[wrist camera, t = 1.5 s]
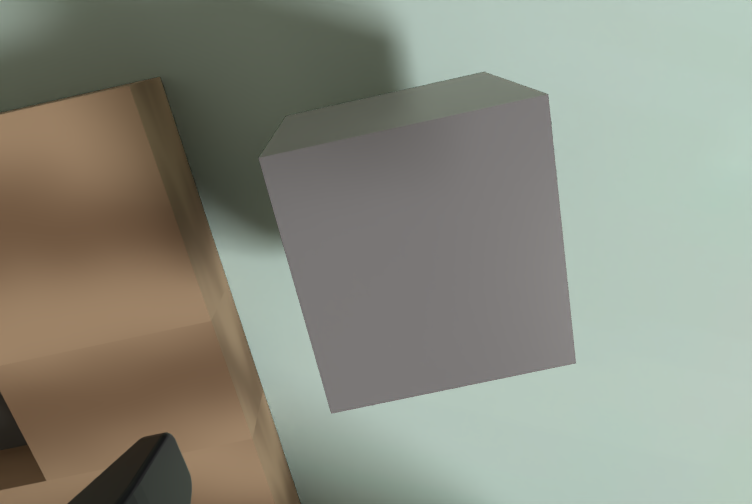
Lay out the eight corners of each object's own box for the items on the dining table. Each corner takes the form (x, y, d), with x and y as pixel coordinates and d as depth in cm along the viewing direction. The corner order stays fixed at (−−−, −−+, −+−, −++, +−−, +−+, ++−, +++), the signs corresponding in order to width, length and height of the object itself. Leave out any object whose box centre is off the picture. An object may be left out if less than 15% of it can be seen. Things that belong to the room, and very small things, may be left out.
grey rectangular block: (494, 242, 22) (575, 363, 14) (336, 275, 22) (331, 413, 15) (468, 66, 20) (548, 94, 12) (292, 105, 20) (258, 157, 12)
